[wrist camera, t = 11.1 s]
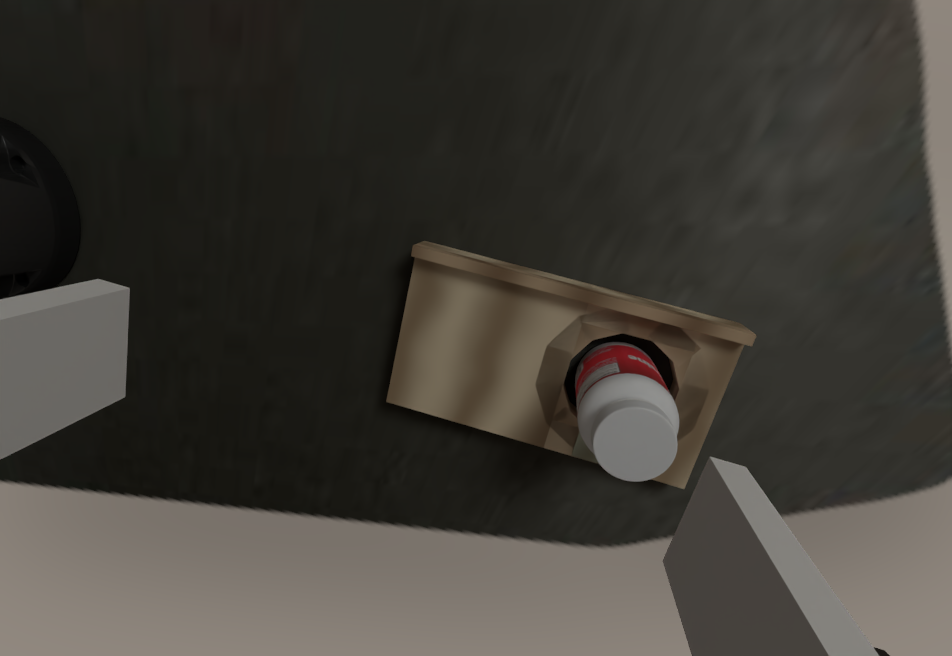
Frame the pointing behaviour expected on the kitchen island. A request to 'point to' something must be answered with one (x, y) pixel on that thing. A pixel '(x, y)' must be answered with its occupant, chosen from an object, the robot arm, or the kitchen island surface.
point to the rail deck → (543, 351)
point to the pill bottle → (626, 412)
